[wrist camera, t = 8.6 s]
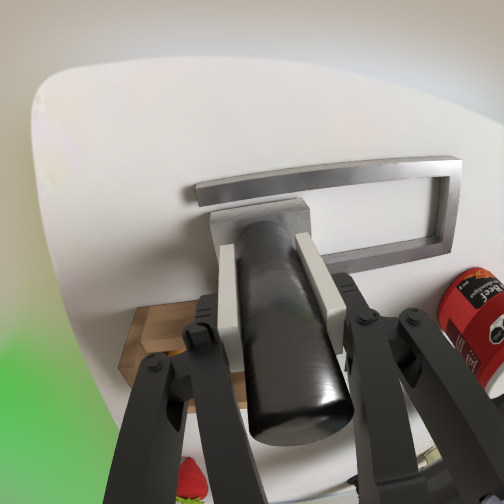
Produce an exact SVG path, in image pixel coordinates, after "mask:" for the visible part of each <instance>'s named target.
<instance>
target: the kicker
mask: <svg viewBox="0 0 504 504" xmlns="http://www.w3.org/2000/svg"><path fill="white" fill-rule="evenodd" d="M209 226H210V230H211V235H212V239H213V244H214V248H215V252H216V257H217V261H218V265H219V259H220V246H223V245H229V244H234V249H235V254H236V259H237V268H238V285H239V300H240V315H241V330H242V344H243V359H244V372H245V386H246V399H247V411H248V424H249V432H250V435H251V436H252V437H253V438H254V439H255V440H257V441H259V442H261V443H263V444H267V445H272V446H297V445H304V444H308V443H312V442H316V441H319V440H322V439H324V438H327V437H329V436H331V435H333V434H335V433H336V432H338V431H339V430H341V429H342V428H343V427H345V426H346V425H347V424H348V423H349V422H350V421H351V419H352V417H353V415H354V411H355V410H354V406H353V403H352V400H351V397H350V394H349V391H348V388H347V385H346V382H345V379H344V377H343V374H342V371H341V368H340V365H339V363H338V360H337V357H336V354H335V352H334V349H333V346H332V343H331V341H330V338H329V335H328V332H327V330H326V327H325V324H324V322H323V319H322V316H321V314H320V311H319V309H318V306H317V303H316V301H315V298H314V296H313V293H312V290H311V288H310V285H309V283H308V280H307V278H306V275H305V273H304V270H303V267H302V265H301V262H300V260H299V257H298V255H297V253H296V245H295V234H298V233H305V232H308V233H309V235H310V237H311V222H310V209H309V207H308V206H307V204H306V203H305V201H304V200H303V198H298V199H291V200H284V201H277V202H271V203H264V204H258V205H251V206H245V207H239V208H233V209H227V210H221V211H215V212H211V215H210V223H209ZM311 239H312V238H311Z"/></svg>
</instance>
